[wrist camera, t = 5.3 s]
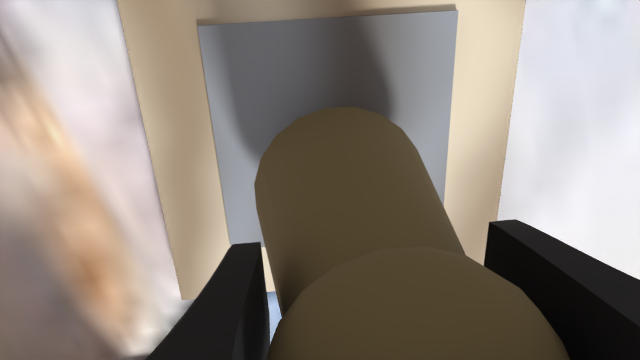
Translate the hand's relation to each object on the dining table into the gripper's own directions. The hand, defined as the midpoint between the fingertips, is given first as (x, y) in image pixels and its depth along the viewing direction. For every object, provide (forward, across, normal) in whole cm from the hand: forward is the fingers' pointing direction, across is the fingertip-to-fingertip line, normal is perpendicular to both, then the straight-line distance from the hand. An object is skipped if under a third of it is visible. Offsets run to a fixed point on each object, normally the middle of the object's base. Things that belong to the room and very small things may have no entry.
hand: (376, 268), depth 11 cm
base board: (+10, 0, 0) cm, 10 cm away
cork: (+6, 0, +1) cm, 6 cm away
